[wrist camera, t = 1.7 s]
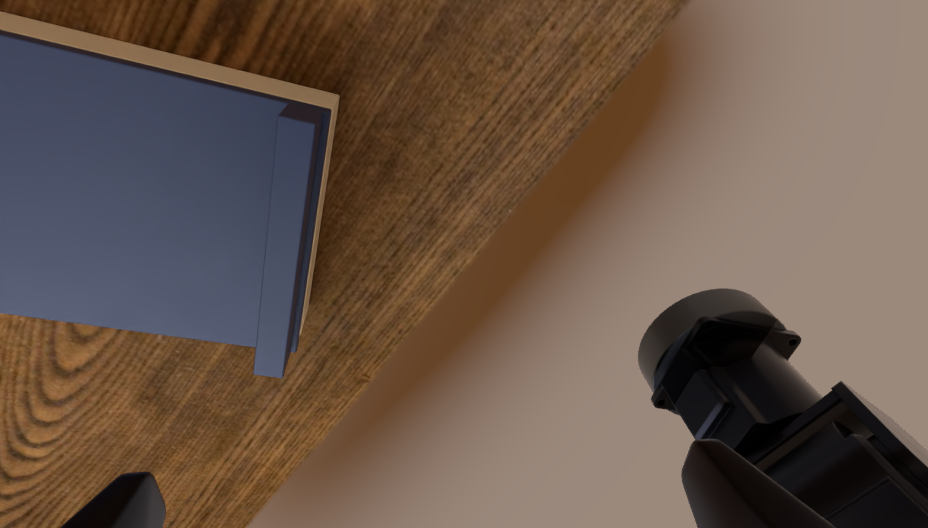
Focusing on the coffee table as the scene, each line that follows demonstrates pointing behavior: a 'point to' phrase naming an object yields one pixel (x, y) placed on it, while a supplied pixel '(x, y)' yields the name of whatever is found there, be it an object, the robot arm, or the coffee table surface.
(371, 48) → the coffee table surface
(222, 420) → the coffee table surface
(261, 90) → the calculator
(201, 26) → the coffee table surface
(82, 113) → the cover
